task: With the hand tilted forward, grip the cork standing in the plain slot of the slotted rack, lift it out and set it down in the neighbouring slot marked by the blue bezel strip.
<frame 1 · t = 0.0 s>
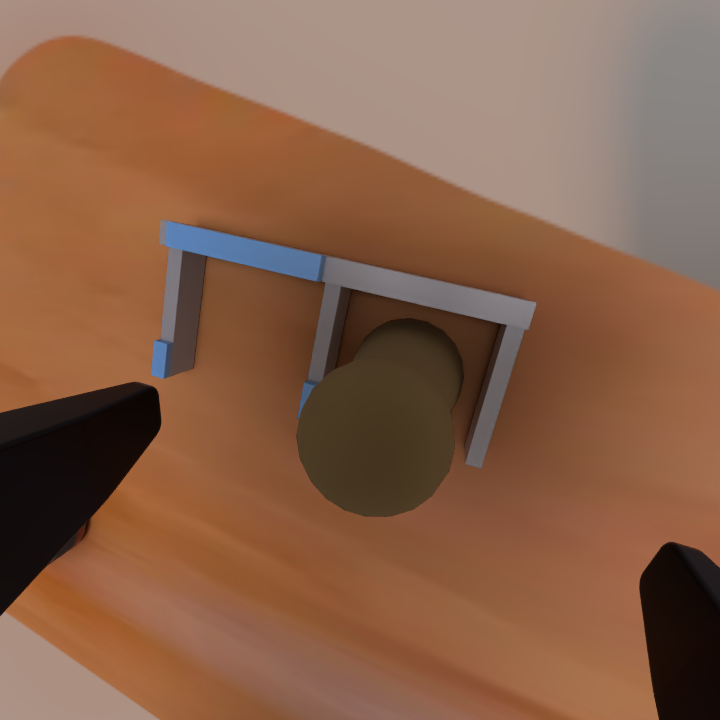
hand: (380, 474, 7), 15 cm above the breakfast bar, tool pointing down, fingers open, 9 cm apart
slotted rack: (331, 352, 23), on the breakfast bar
cork: (407, 372, 23), on the breakfast bar
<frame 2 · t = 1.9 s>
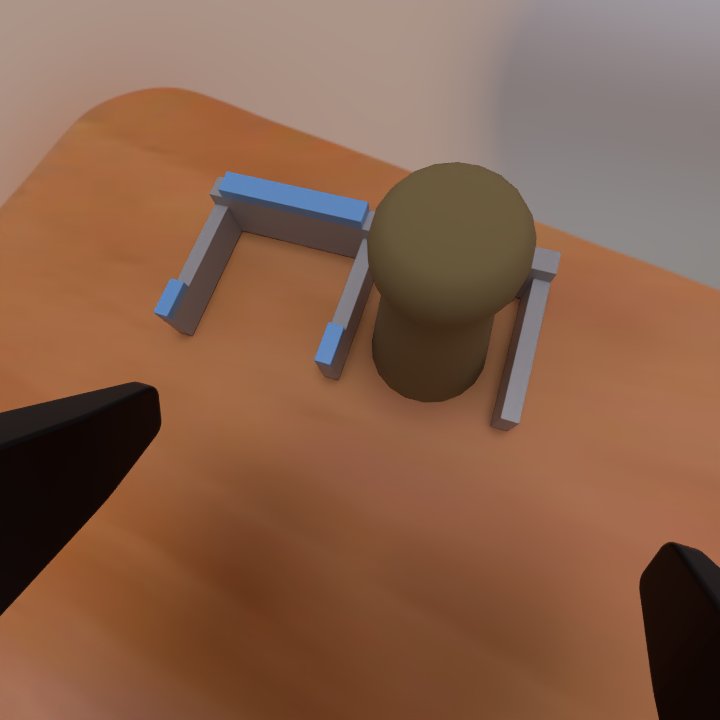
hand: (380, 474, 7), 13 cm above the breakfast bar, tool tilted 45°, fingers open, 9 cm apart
slotted rack: (350, 324, 23), on the breakfast bar
cork: (428, 347, 22), on the breakfast bar
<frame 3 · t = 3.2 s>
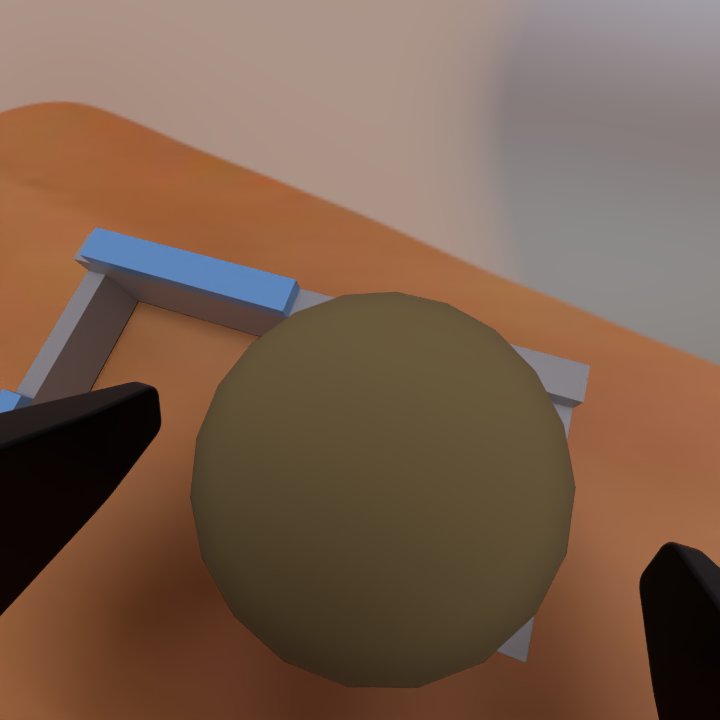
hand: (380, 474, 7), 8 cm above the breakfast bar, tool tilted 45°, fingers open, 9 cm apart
slotted rack: (277, 448, 16), on the breakfast bar
cork: (389, 488, 15), on the breakfast bar
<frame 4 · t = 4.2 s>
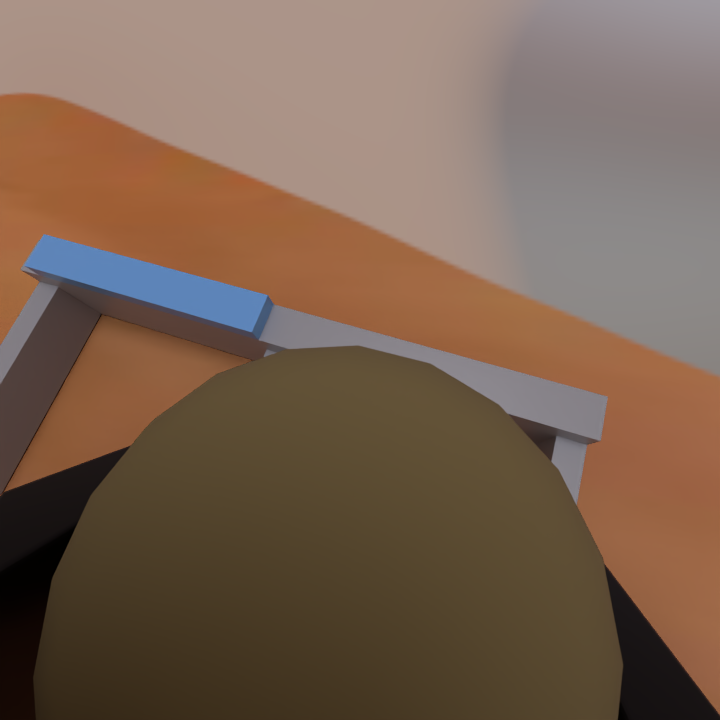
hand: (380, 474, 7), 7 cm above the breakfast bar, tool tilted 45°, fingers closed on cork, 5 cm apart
slotted rack: (252, 482, 14), on the breakfast bar
cork: (377, 529, 13), on the breakfast bar, touching gripper
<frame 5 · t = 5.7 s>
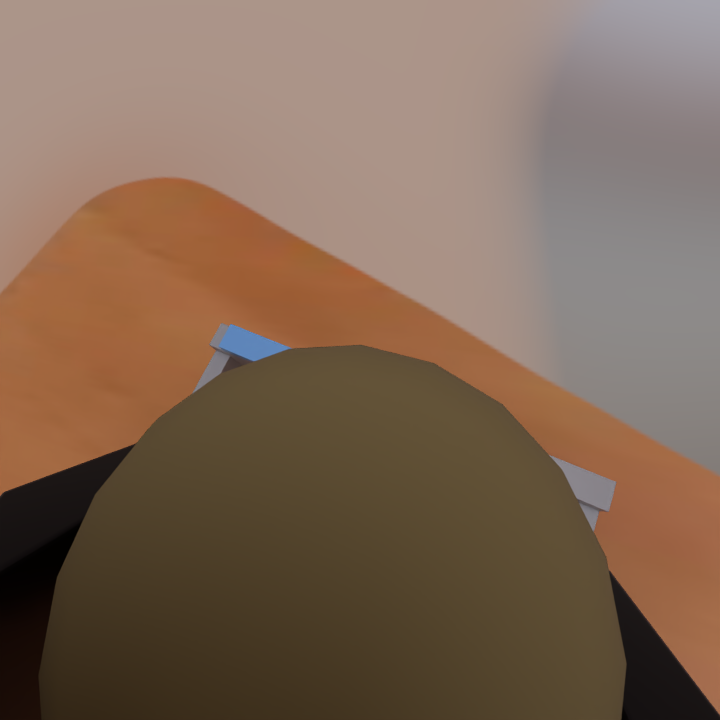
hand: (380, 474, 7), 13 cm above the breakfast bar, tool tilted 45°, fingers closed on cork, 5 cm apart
slotted rack: (357, 507, 20), on the breakfast bar
cork: (379, 528, 13), point 7 cm above the breakfast bar, touching gripper
when the fingers open (8 cm above the breakfast bar, at t = 7.5 s): cork drops 1 cm, on the breakfast bar.
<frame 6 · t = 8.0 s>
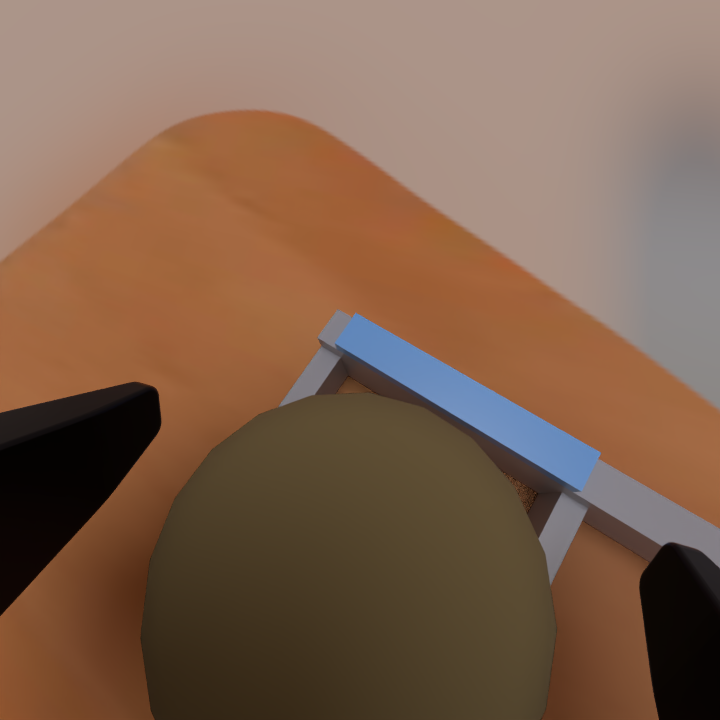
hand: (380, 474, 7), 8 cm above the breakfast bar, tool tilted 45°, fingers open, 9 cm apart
slotted rack: (493, 608, 13), on the breakfast bar
cork: (379, 529, 15), on the breakfast bar
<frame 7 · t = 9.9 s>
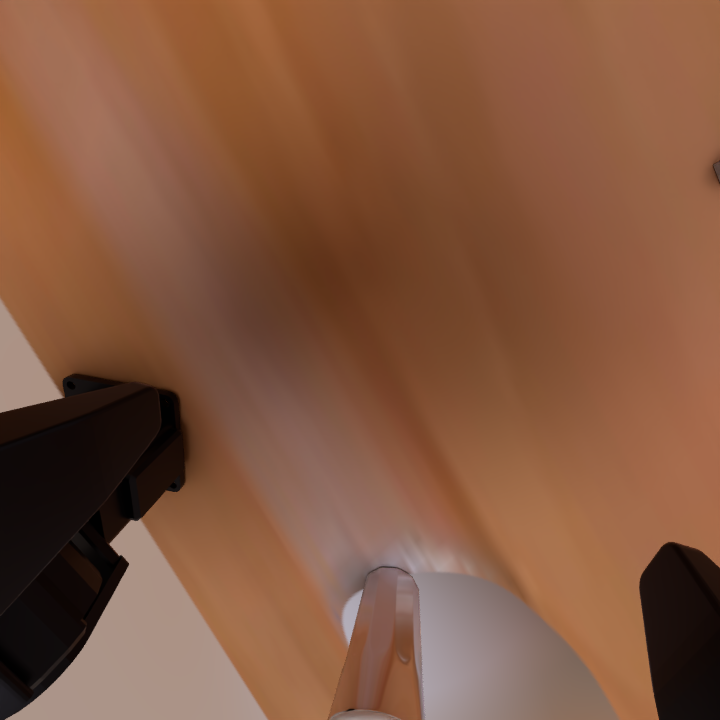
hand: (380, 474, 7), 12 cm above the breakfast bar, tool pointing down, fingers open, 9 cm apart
milkshake: (386, 585, 26), on the breakfast bar
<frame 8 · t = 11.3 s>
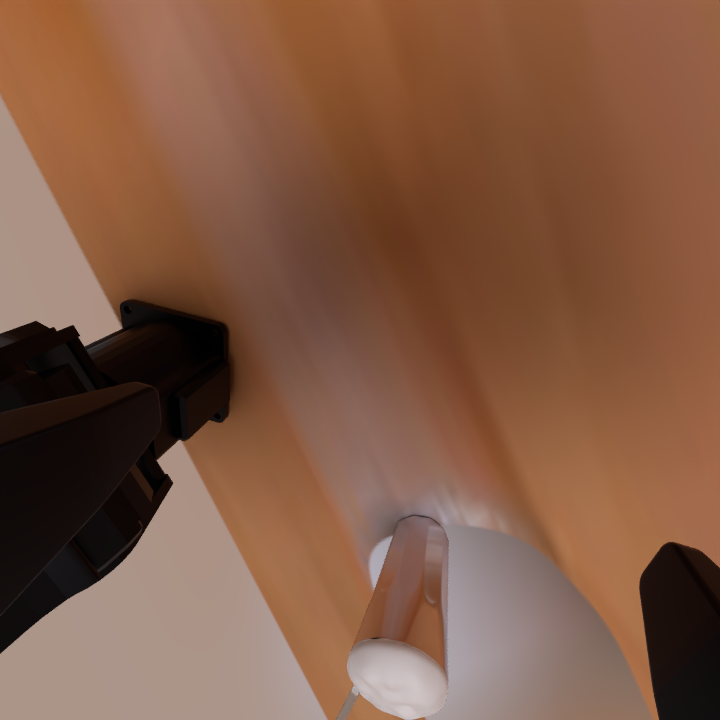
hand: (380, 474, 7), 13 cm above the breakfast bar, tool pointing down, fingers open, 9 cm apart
milkshake: (416, 534, 26), on the breakfast bar
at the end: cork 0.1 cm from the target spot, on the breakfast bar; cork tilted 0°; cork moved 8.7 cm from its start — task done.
